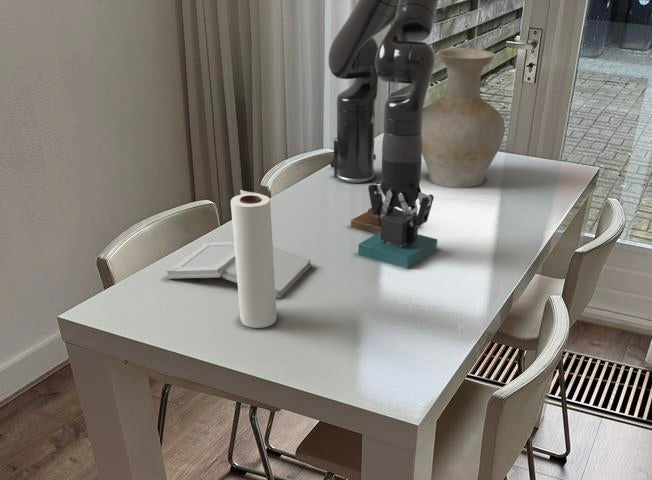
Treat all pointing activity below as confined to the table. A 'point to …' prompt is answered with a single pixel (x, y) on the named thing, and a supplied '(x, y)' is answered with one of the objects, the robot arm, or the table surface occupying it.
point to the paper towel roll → (254, 258)
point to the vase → (461, 123)
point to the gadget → (222, 261)
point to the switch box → (368, 222)
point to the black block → (394, 229)
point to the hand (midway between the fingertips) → (398, 239)
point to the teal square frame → (397, 250)
